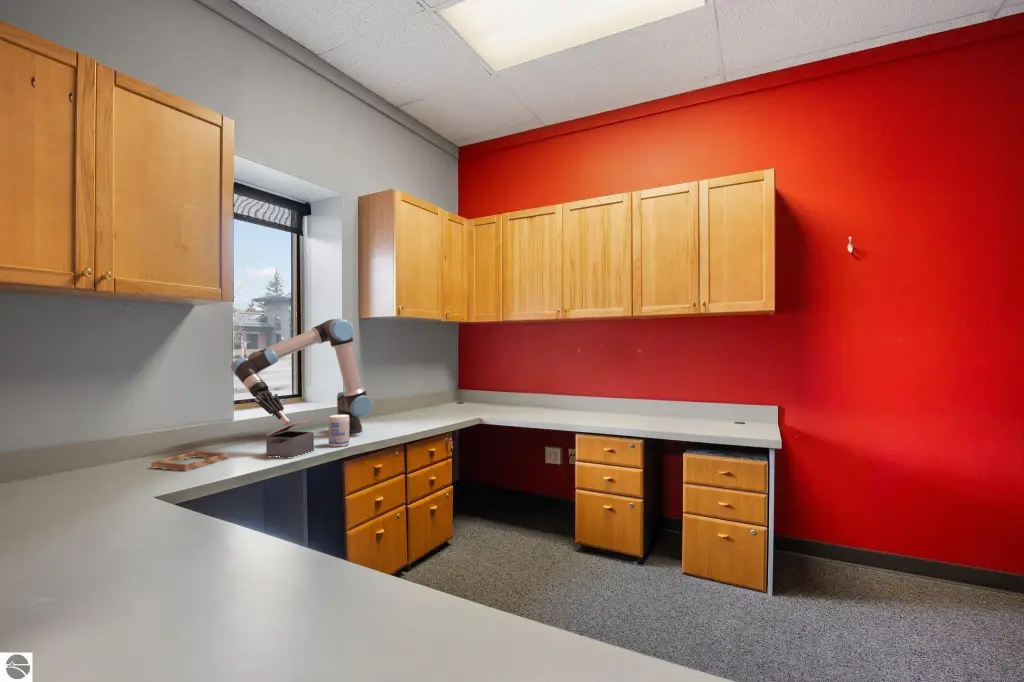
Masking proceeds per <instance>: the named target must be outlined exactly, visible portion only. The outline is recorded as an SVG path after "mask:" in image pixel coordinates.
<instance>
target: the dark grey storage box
mask: <svg viewBox="0 0 1024 682" xmlns="http://www.w3.org/2000/svg"><path fill="white" fill-rule="evenodd" d="M314 435H315V432H314V431H299V430H288V431H284V432H281V433H277V434H273V435H269V436H267V435H266V439H265V440H266V441H265V442H266V443H265V444H266V448H265V449H266V450H265V452H266V454H265V456H278V457H277V458H279V456H280V457H295V456H298V455H302V454H305V453H307V454H309V453H308V452H310V453H312V452H311V451H313V452H314V451H315V450H314V449H315V448H314V445H315V444H314V443H315V441H314V437H315V436H314ZM305 455H306V454H305ZM302 456H303V455H302Z"/></svg>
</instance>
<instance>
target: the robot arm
mask: <svg viewBox="0 0 1024 682" xmlns="http://www.w3.org/2000/svg"><path fill="white" fill-rule="evenodd" d="M354 332H355V328H354V326H353V324H352V323H351V322H350V321H349V320H347V319H345V318H333V319H329V320H326V321H324V322H322V323H320V324H317V325H316V326H313V327H311V330H308V331H306V332H303V333H301V334H297V335H296V336H294V337H293V336H292V337H291V338H288V339H286V340H283V341H280V342H277V343H275V344H273V345H271V346H270V345H269V346H267V347H264V348H263V349H260V350H258V351H253V352H251V353H250V354H249V355H248V357H247V359H246V358H244V357H240V358H237V359H235V360H234V361H232V363H231V365H230V369H231V370H232V372H233V373H234V375H235V376H236V377H237V378H238V379H239V381H240V382H241V383H242V384H243V385H244V387H245V388H246V389H247V390H248V391H249V393H250V394H251V395H252V396H253V397H254V398H255V399H253V402H254V403H256V404H258V406H260V407H261V408H262V409H263V410H264V411H265V412H266V413H268V414H269V415H271V416H272V417H275V418H277V419H278V420H279V421H280V423H281V424H282V425H283V426H285V425H288V424H289V422H290V419H289V418H288V417H287V416H286V414H285V413H284V412H283V411H284V410H285V407H284V405H283V404H282V402H281V400H280V399H279V396H278V395H279V394H277V393H274V394H273V393H272V392H271V391H270V390H269V386H268V385H267V383H266V382H265V381H264V379H263V378H262V377H261V376H260V375H259V374H258V373H260V372H262V371H263V370H265V369H268V368H269V367H271V366H274V365H275V364H276V363H278V362H279V359H282V358H283V357H287V356H289V355H291V354H294V353H297V352H299V351H302V350H303V349H306V348H309V347H311V346H313V345H314V346H315V345H316V344H319V345H320V344H323V343H326V342H329V343H330V346H331V348H333V349H334V350H335V351H334V352H335V355H336V358H337V361H338V366H339V370H340V374H341V378H342V382H343V386H344V389H345V391H341V392H339V391H338V393H337V395H336V399H337V400H336V404H337V405H336V408H337V409H336V410H337V411H336V412H337V413H336V415H349V435H353V434H357V433H362V432H363V425H362V423H361V420H360V418H361V417H363V418H364V417H365V416H367V415H369V413H370V411H372V408H373V401H372V399H371V398H370V397H369V396H368V394H367V390H366V388H364V387H363V386H362V382H361V381H362V380H361V378H360V373H359V371H358V366H357V363H356V358H355V355H354V350H353V347H352V346H353V343H354V339H353V335H354V334H355V333H354Z"/></svg>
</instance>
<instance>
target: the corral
mask: <svg viewBox="0 0 1024 682" xmlns="http://www.w3.org/2000/svg"><path fill="white" fill-rule="evenodd" d="M193 456H198V457H206V458H203V459H201V460H198V461H194V462H191V463H179V462H176V463H171V462H174V461H178V460H182V459H186V458H189V457H193ZM225 459H227V460H229V453H228V452H214V451H213V452H211V451H200V450H199V451H190V452H186V453H182V454H179V455H176V456H175V455H174V456H170V457H167V458H162V459H158V460H155V461H151V462H150V463H151V467H157V468H166V469H177V470H186V471H185V472H188V471H187V470H189V471H191V470H190V469H193V470H195V469H194V468H196V469H198V468H197V467H199V468H202V467H201V466H203V467H205V466H204V465H206V466H209V465H208V464H210V465H212V463H213V464H216V463H215V462H217V463H219V462H218V461H220V462H223V461H226V460H225ZM222 460H223V461H222ZM177 470H176V471H177Z"/></svg>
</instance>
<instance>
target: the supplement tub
mask: <svg viewBox="0 0 1024 682" xmlns="http://www.w3.org/2000/svg"><path fill="white" fill-rule="evenodd" d="M328 417H329V418H328V446H329V447H331V446H334V447H333V448H336V447H335V446H342V447H344V446H343V445H347V446H349V445H350V434H349V415H337V414H333V415H329V416H328Z"/></svg>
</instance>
